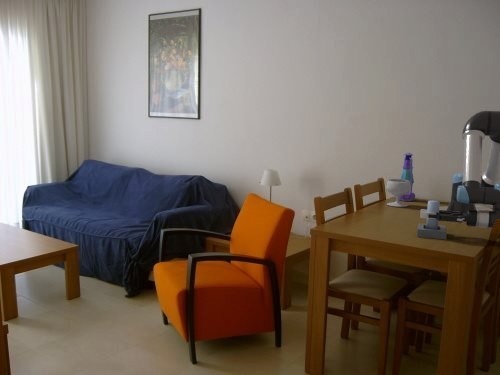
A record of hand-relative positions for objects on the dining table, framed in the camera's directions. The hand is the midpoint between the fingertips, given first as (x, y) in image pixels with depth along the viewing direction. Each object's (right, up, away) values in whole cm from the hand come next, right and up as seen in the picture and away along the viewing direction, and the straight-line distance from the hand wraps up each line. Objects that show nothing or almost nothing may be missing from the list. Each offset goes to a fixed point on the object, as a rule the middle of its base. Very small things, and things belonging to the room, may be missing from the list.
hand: (420, 213), depth 215 cm
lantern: (+21, +4, +84) cm, 87 cm away
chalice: (+10, +1, +66) cm, 67 cm away
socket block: (+5, -10, 0) cm, 11 cm away
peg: (+5, -8, 0) cm, 10 cm away
